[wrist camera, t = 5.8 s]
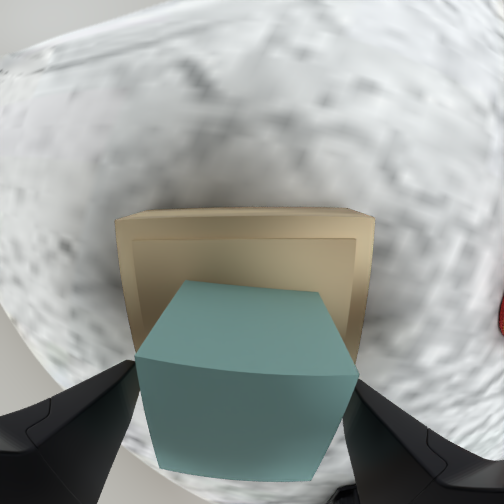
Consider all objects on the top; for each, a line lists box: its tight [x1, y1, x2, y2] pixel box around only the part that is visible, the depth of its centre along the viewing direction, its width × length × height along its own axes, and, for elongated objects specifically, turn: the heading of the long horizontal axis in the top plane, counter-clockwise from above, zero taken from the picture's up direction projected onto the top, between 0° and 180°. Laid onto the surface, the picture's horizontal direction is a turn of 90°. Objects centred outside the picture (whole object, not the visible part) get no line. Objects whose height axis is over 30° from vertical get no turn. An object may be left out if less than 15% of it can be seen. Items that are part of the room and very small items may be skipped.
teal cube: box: [135, 280, 359, 482], centre depth 9 cm, size 5×5×5 cm
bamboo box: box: [115, 207, 375, 364], centre depth 13 cm, size 10×10×4 cm
